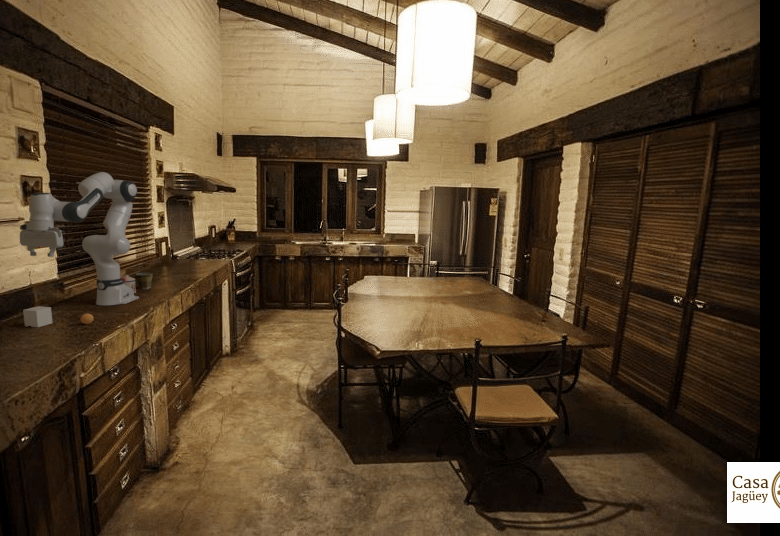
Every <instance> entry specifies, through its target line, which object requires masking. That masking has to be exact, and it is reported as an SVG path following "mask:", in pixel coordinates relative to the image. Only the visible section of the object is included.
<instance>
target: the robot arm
mask: <svg viewBox="0 0 780 536" xmlns="http://www.w3.org/2000/svg"><path fill="white" fill-rule="evenodd" d="M77 187H78V189H77V190H78V192H79V194H80V195H81V197H82V198H81V199H80V200H79V201H61V200H59V199H57V198H55V197H54V196H53V195H52V193H50V192H33V193H32V194H31V195H30V196H29V201H28V202H29V203H28V212H29V222H27V223H23V224H20V225H19V229H20V231H19V244H20V245H21V246H23V247H27V250H28V251H29V255H30V256H31V257H37V252H36V251H35V247H42V248H45V247H46V248H49V252H47V257H49V258H54V257H55V252H56V251H57V248H63V247H64V238H63V233H62V232H63V231H62V230H61V229H60V227H55V222H68V223H75V224H76V223H77V224H78V223H82V222H83V221H85V219H87V217H88V215H89V213H90V212H91V211H92V210H93V209H94V208H95V207H96V206H97V205H98V204H99V203H100V202H101V200H102V199H107V200H108V199H109V200H111V201H112V203H111V205H110V206H109V209H108V211H107V213H106V216H105V218H104V220H103V226H104V228H105V229H106V230H107V233H106V235H105V234H92V235H88V236H86V237H84V238H83V240H82V243H81V246H82V249H83V251H84V252H86V253H87V254H88V255H89V256H90V258H91V259H92V260H93V263H94V265H95V270H96V286H97V289H96V300H95V305H97V306H115V305H125V304H128V303H130V302H133V301H136V300H138V299H140V296H138V295H135V294H134V291H133V289H132V288H130V287H128V286H127V285H125V284H123V283H124V282H123V281H127V278H124V277H121V265H120V263H118V262H117V261H116V260H115V259H114V258H113V256H121V255H126V254H127V253H128V252H129V251H130V249H131V242H130V240H129V239H128V238H127V236H126V229H127V227H128V224H129V221H130V218H131V215H132V212H133V203H132V202H133V201H135V199H136V197H137V194H138V187H137V185H136V184H135V182H133V181H131V180H126V179H125V180H121V179H114V178H113V177H112V175H111V174H109V173H108V172H105V171H101V172H96V173H94V174H92V175H90V176H88V177H86V178H84V179H83V180H82V181H81V182H80V183H79V184H78V186H77Z"/></svg>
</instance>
